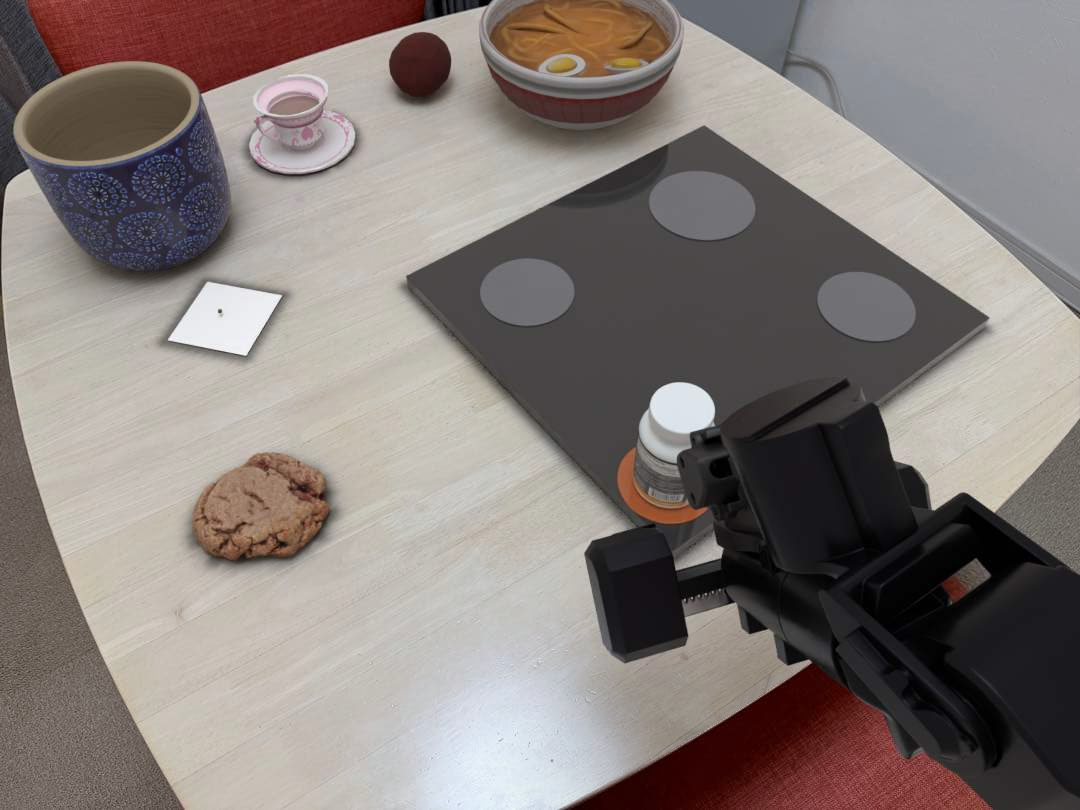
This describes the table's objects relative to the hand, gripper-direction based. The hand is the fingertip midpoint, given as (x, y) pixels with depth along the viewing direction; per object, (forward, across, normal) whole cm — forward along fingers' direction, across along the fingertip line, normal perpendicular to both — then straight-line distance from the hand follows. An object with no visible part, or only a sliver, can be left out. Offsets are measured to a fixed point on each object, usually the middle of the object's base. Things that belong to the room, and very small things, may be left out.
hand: (704, 521), depth 55 cm
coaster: (+38, +30, -19) cm, 52 cm away
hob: (+30, -13, -11) cm, 35 cm away
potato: (+61, +4, -42) cm, 74 cm away
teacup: (+56, +19, -37) cm, 70 cm away
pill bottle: (+16, -3, +1) cm, 16 cm away
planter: (+48, +35, -29) cm, 67 cm away
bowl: (+56, -13, -36) cm, 67 cm away
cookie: (+22, +29, -3) cm, 36 cm away
